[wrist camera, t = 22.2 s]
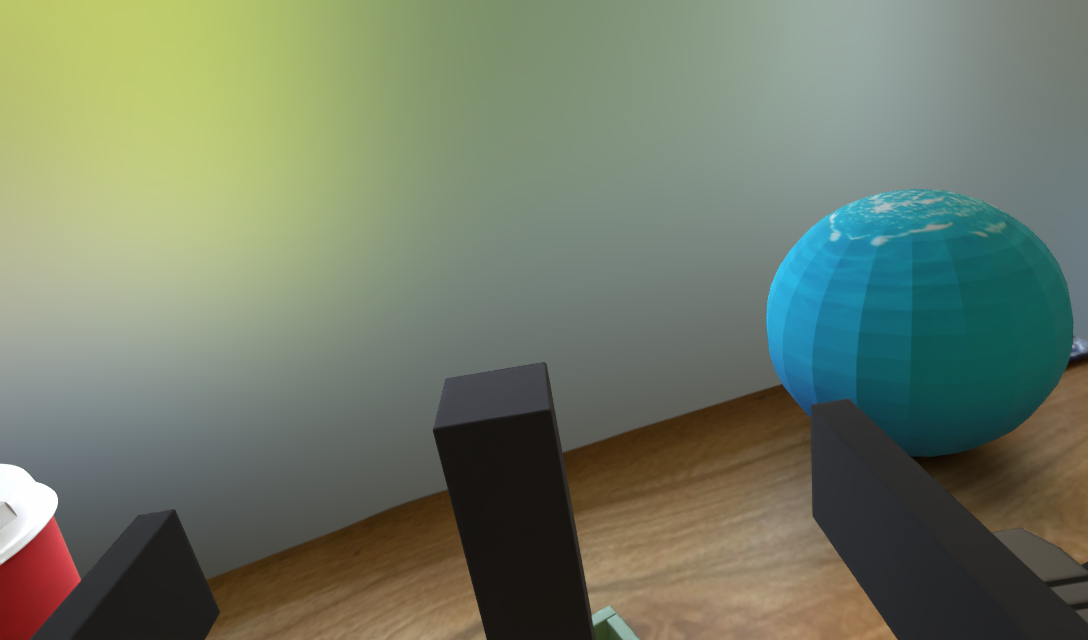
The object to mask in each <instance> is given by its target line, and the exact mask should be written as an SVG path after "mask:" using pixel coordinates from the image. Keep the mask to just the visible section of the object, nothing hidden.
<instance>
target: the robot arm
mask: <svg viewBox="0 0 1088 640" xmlns="http://www.w3.org/2000/svg"><path fill="white" fill-rule="evenodd" d="M811 444H812V502H813V517H814V519H815V520H816V522H817V523H818V525H819V526H820V528H821V529H822V530H823V532H824V533H825V535H826V536H827V538H828V539H829V541H830V542H831V543H832V545H833V546H834V548H835V549H836V551H837V552H838V554H839V555H840V557H841V558H842V559H843V561H844V562H845V564H846V565H847V567H848V568H849V570H850V571H851V572H852V574H853V575H854V577H855V578H856V580H857V581H858V583H859V584H860V585H861V587H862V588H863V590H864V591H865V593H866V594H867V596H868V597H869V598H870V600H871V601H872V603H873V604H874V606H875V607H876V609H877V610H878V611H879V613H880V614H881V616H882V617H883V619H884V620H885V622H886V623H887V625H888V626H889V627H890V629H891V630H892V632H893V633H894V635H895V636H896V638H897V639H898V640H1088V571H1087V570H1086V569H1085V568H1084V567H1082V566H1081V565H1080V564H1079V563H1078V562H1076V561H1075V560H1074V559H1073V558H1072V557H1071V556H1069V555H1068V554H1067V553H1066V552H1065V551H1063V550H1062V549H1061V548H1060V547H1058V546H1056V545H1054V544H1052V543H1050V542H1048V541H1046V540H1044V539H1042V538H1040V537H1038V536H1036V535H1034V534H1032V533H1030V532H1028V531H1026V530H1024V529H1022V528H1016V529H1009V530H1003V531H997V532H990V531H989V530H988V529H987V528H986V527H985V526H984V525H983V524H982V523H981V522H980V521H979V520H978V519H976V518H975V517H974V516H973V515H972V514H971V513H970V512H969V511H968V510H967V509H966V508H965V507H964V506H963V505H962V504H961V503H959V502H958V501H957V500H956V499H955V498H954V497H953V496H952V495H951V494H950V493H949V492H948V491H947V490H946V489H945V488H943V487H942V486H941V485H940V484H939V483H938V482H937V481H936V480H935V479H934V478H933V477H932V476H931V475H930V474H929V473H927V472H926V471H925V470H924V469H923V468H922V467H921V466H920V465H919V464H918V463H917V462H916V461H915V460H914V459H913V458H912V457H910V456H909V455H908V454H907V453H906V452H905V451H904V450H903V449H902V448H901V447H900V446H899V445H898V444H897V443H896V442H894V441H893V440H892V439H891V438H890V437H889V436H888V435H887V434H886V433H885V432H884V431H883V430H882V429H881V428H880V427H878V426H877V425H876V424H875V423H874V422H873V421H872V420H871V419H870V418H869V417H868V416H867V415H866V414H865V413H864V412H862V411H861V410H860V409H859V408H858V407H857V406H856V405H855V404H854V403H853V402H852V401H851V400H850V399H849V398H848V399H842V400H836V401H830V402H824V403H818V404H812V405H811ZM219 613H220V611H219V609H218V606H217V604H216V602H215V599H214V597H213V595H212V593H211V590H210V588H209V586H208V583H207V581H206V579H205V577H204V575H203V572H202V570H201V568H200V566H199V563H198V561H197V558H196V557H195V554H194V552H193V549H192V547H191V545H190V543H189V540H188V538H187V536H186V534H185V531H184V529H183V527H182V524H181V522H180V520H179V518H178V515H177V513H176V511H175V509H172V510H166V511H161V512H154V513H148V514H143V515H138V516H137V517H136V518H135V520H134V521H133V522H132V523H131V524H130V525H129V526H128V527H127V529H126V530H125V531H124V532H123V533H122V534H121V536H120V537H119V538H118V539H117V540H116V541H115V542H114V543H113V545H112V546H111V547H110V548H109V549H108V550H107V551H106V553H105V554H104V555H103V556H102V557H101V558H100V559H99V561H98V562H97V563H96V564H95V565H94V566H93V568H92V569H91V570H90V571H89V572H88V573H87V574H86V575H85V577H84V578H83V579H82V580H81V581H80V582H79V583H78V585H77V586H76V587H75V588H74V589H73V590H72V591H71V593H70V594H69V595H68V596H67V597H66V598H65V599H64V601H63V602H62V603H61V604H60V605H59V606H58V607H57V609H56V610H55V611H54V612H53V613H52V614H51V615H50V617H49V618H48V619H47V620H46V621H45V622H44V623H43V625H42V626H41V627H40V628H39V629H38V630H37V631H36V633H35V634H34V635H33V636H32V637H31V638H30V639H29V640H205V638H206V636H207V635H208V633H209V631H210V629H211V627H212V626H213V624H214V622H215V620H216V618H217V617H218V615H219Z"/></svg>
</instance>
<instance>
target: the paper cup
mask: <svg viewBox="0 0 1088 640" xmlns="http://www.w3.org/2000/svg"><path fill="white" fill-rule="evenodd" d="M57 503H58V498H57V496H56V493H55V492H54V491H53V490H52V489H51V488H49V487H47V486H46V485H43V484H40V483H36V482H35V481H34V480H33V479H32V477H31V476H30V475H29V474H28V473H27V472H26V471H25V470H23V469H22V468H19V467H17V466H14V465H9V464H8V465H7V464H0V640H29V639H30V638H31V637H32V636H33V635H34V634H35V633H36V631H37V630H38V629H39V628H40V627H41V626H42V625H43V623H44V622H45V621H46V620H47V619H48V618H49V617H50V615H51V614H52V613H53V612H54V611H55V610H56V609H57V607H58V606H59V605H60V604H61V603H62V602H63V601H64V599H65V598H66V597H67V596H68V595H69V594H70V593H71V591H72V590H73V589H74V588H75V587H76V586H77V585H78V583H79V582H80V581H81V579H80V577H79V574H78V572H77V570H76V567H75V565H74V563H73V560H72V558H71V555H70V553H69V551H68V548H67V546H66V544H65V541H64V539H63V537H62V534H61V532H60V530H59V527H58V525H57V523H56V520H55V518H54V516H53V514H54V512H55V510H56V508H57Z"/></svg>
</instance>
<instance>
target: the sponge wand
mask: <svg viewBox="0 0 1088 640" xmlns="http://www.w3.org/2000/svg"><path fill="white" fill-rule="evenodd" d="M433 433H434V437H435V441H436V445H437V449H438V452H439V456H440V460H441V464H442V468H443V472H444V476H445V479H446V483H447V487H448V491H449V495H450V499H451V503H452V507H453V511H454V514H455V518H456V522H457V526H458V530H459V534H460V538H461V542H462V545H463V549H464V553H465V557H466V561H467V565H468V569H469V572H470V576H471V580H472V584H473V588H474V592H475V596H476V600H477V603H478V607H479V611H480V615H481V619H482V623H483V627H484V631H485V634H486V638H487V640H596V637H595V632H594V626H593V620H592V615H591V609H590V604H589V598H588V593H587V587H586V581H585V576H584V570H583V565H582V559H581V554H580V548H579V542H578V537H577V531H576V526H575V520H574V515H573V509H572V503H571V498H570V492H569V487H568V481H567V476H566V470H565V464H564V459H563V453H562V448H561V443H560V437H559V431H558V426H557V420H556V414H555V409H554V404H553V398H552V392H551V387H550V381H549V375H548V370H547V364H546V363H545V362H542V363H536V364H530V365H524V366H518V367H512V368H506V369H500V370H494V371H488V372H482V373H476V374H471V375H464V376H458V377H452V378H447V379H446V380H445V383H444V387H443V391H442V395H441V400H440V403H439V408H438V412H437V416H436V420H435V424H434V428H433Z"/></svg>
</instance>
